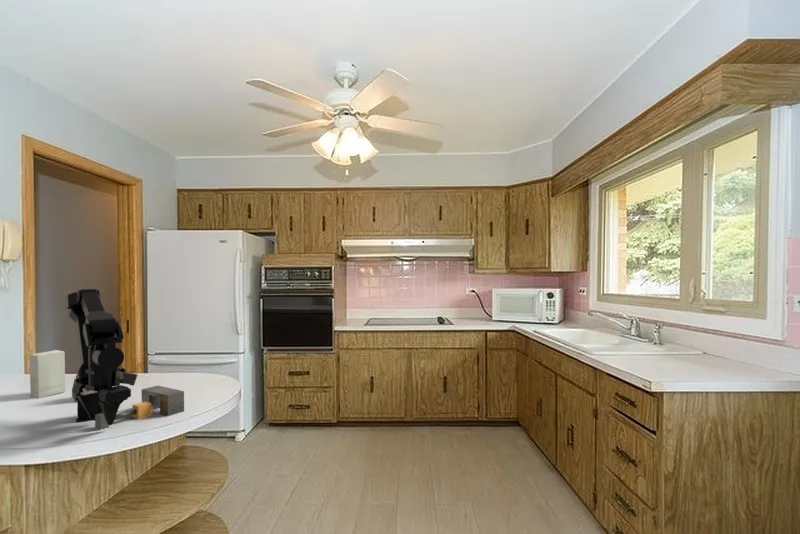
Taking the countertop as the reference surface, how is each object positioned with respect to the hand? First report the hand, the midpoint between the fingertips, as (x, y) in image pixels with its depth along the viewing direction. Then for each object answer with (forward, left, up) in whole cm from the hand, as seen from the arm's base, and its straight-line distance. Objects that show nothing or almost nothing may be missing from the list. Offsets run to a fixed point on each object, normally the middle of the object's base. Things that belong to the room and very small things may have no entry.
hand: (101, 421), depth 114 cm
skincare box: (-21, +50, -2) cm, 54 cm away
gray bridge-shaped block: (+14, +8, -2) cm, 17 cm away
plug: (+5, +3, -2) cm, 6 cm away
